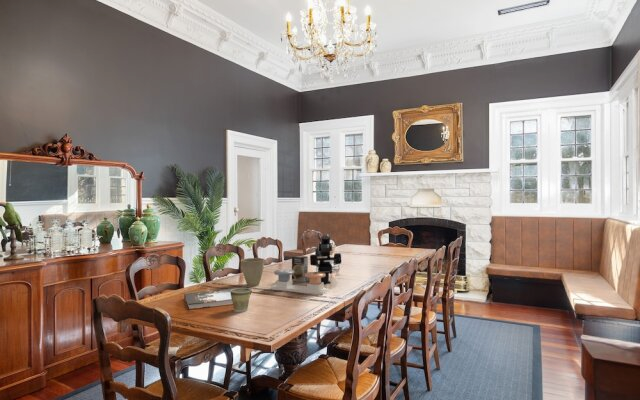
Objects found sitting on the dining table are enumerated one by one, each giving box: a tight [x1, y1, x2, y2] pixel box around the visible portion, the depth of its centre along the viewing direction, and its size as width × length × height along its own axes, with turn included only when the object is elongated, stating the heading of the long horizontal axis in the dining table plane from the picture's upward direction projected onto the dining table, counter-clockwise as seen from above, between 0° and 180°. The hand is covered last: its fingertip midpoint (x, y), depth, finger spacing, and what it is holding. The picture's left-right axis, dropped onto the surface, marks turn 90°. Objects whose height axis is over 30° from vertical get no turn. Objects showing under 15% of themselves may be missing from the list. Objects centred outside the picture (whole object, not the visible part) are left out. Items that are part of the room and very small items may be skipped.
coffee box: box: [291, 255, 309, 283], centre depth 268 cm, size 9×6×16 cm
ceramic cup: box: [229, 287, 253, 313], centre depth 202 cm, size 13×10×10 cm
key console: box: [270, 279, 330, 295], centre depth 242 cm, size 34×9×5 cm, turn 67°
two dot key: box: [273, 268, 294, 282], centre depth 246 cm, size 12×12×6 cm
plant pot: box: [240, 257, 266, 287], centre depth 257 cm, size 15×15×16 cm
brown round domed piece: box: [305, 271, 326, 285], centre depth 238 cm, size 12×12×6 cm
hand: (326, 265), depth 238 cm, fingers open, 9 cm apart
